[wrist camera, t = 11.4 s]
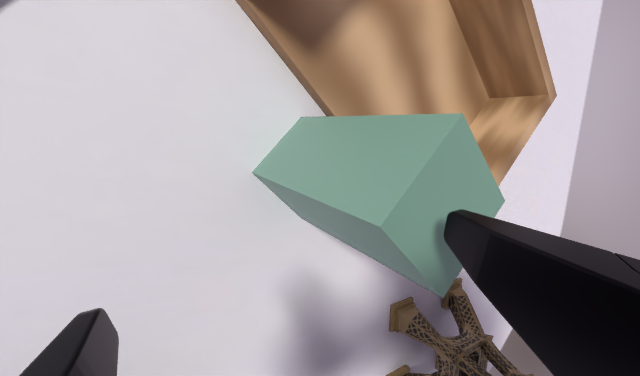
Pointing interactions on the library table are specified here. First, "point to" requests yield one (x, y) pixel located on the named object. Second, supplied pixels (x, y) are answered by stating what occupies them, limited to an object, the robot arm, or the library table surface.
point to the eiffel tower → (451, 338)
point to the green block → (385, 186)
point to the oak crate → (419, 62)
